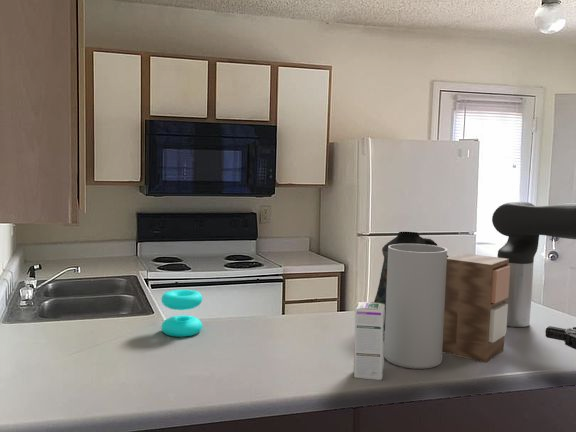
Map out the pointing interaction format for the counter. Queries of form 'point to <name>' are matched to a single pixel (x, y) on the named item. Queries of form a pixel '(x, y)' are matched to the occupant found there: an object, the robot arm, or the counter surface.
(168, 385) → the counter surface
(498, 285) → the salmon pink block
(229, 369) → the counter surface
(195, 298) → the donuts
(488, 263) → the wooden drawer cabinet
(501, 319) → the light grey drawer
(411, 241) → the beer stein
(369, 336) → the syrup box
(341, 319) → the counter surface
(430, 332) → the cylinder vase
